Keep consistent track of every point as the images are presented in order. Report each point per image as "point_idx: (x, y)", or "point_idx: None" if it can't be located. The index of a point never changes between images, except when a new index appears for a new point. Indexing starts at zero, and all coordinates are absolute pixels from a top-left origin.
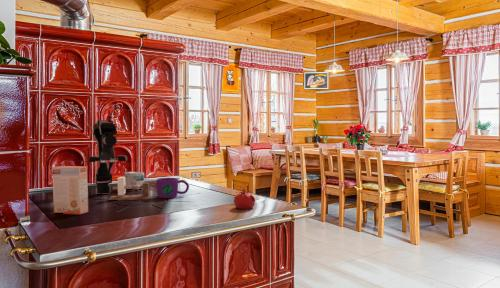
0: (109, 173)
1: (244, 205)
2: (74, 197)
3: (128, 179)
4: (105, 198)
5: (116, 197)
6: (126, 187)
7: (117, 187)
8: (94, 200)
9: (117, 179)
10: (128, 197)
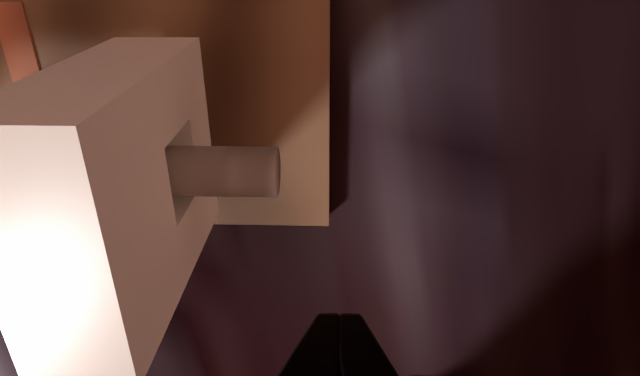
0: (304, 334)
1: None
2: None
3: None
4: (397, 187)
5: (243, 91)
6: None
7: (194, 151)
8: (521, 78)
9: (89, 112)
10: (75, 46)
